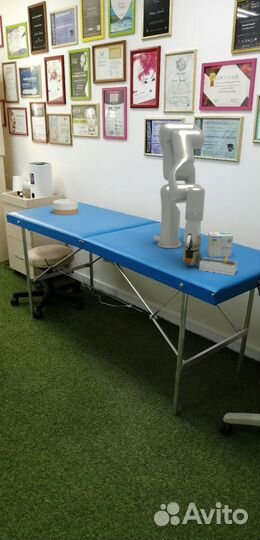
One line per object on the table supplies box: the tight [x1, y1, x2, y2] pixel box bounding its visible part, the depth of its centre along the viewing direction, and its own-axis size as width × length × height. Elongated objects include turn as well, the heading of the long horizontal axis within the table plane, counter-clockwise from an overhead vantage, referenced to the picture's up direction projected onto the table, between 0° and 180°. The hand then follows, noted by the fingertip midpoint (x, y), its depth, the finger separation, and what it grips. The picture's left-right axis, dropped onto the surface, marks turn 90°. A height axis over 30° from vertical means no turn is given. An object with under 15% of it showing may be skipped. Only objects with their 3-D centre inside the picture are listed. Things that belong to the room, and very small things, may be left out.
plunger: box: [196, 253, 229, 267], centre depth 175 cm, size 12×3×5 cm, turn 66°
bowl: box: [52, 198, 79, 216], centre depth 282 cm, size 17×17×8 cm
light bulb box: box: [206, 231, 234, 258], centre depth 194 cm, size 11×7×11 cm, turn 92°
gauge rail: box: [198, 256, 238, 277], centre depth 174 cm, size 15×7×4 cm, turn 66°
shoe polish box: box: [182, 235, 202, 266], centre depth 177 cm, size 5×5×12 cm
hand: (191, 255), depth 178 cm, fingers closed on shoe polish box, 6 cm apart
